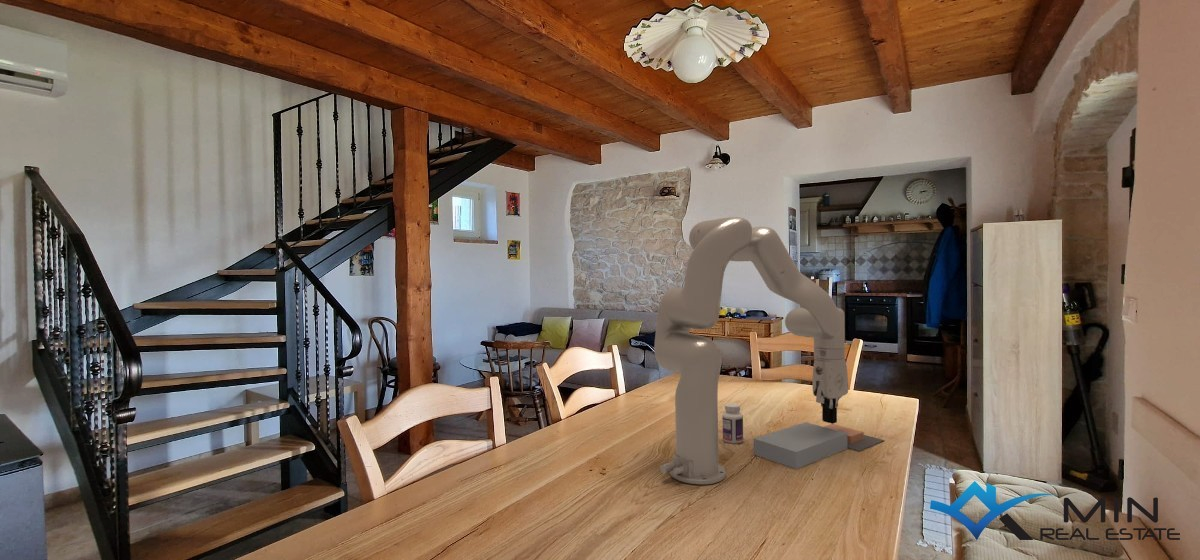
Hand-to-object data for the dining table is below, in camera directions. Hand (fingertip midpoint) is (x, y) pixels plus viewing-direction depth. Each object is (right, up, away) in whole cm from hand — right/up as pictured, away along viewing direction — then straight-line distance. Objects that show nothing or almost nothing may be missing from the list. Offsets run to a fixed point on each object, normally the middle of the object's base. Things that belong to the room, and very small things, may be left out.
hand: (829, 421), depth 138 cm
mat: (+5, -5, +1) cm, 7 cm away
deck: (-11, -6, -7) cm, 14 cm away
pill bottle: (-25, -6, +2) cm, 26 cm away
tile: (+4, -3, +2) cm, 5 cm away
